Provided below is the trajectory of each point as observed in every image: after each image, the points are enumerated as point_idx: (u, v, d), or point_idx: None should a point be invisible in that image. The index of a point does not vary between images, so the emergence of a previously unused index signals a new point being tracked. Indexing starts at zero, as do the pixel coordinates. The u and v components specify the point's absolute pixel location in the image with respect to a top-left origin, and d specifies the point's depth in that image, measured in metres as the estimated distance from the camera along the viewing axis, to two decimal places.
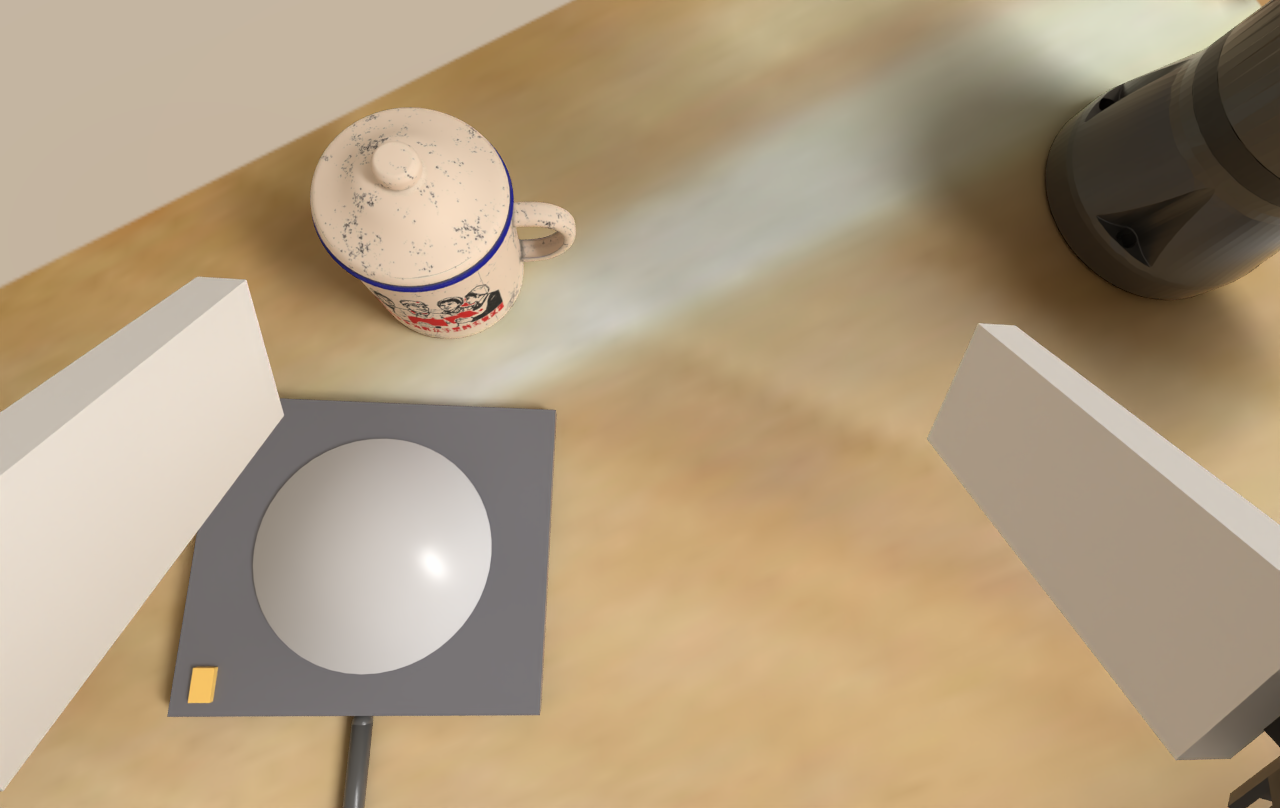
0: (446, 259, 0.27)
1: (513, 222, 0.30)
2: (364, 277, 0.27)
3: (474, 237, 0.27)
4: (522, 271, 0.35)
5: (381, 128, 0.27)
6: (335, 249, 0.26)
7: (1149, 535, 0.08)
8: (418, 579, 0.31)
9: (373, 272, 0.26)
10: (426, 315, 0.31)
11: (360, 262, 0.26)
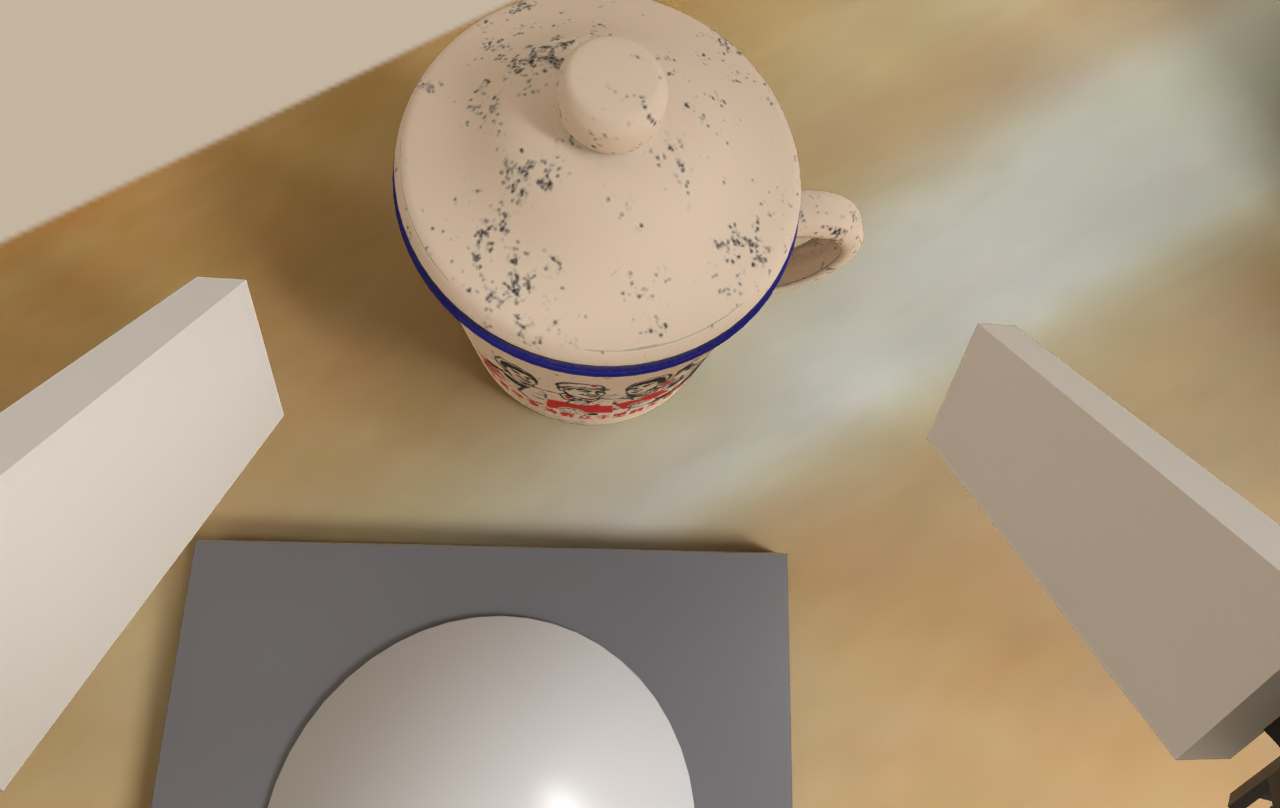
0: (695, 309, 0.12)
1: None
2: (513, 346, 0.12)
3: (750, 261, 0.12)
4: None
5: (548, 26, 0.13)
6: (454, 286, 0.12)
7: (1149, 535, 0.08)
8: None
9: (539, 338, 0.12)
10: (589, 401, 0.17)
11: (511, 316, 0.12)
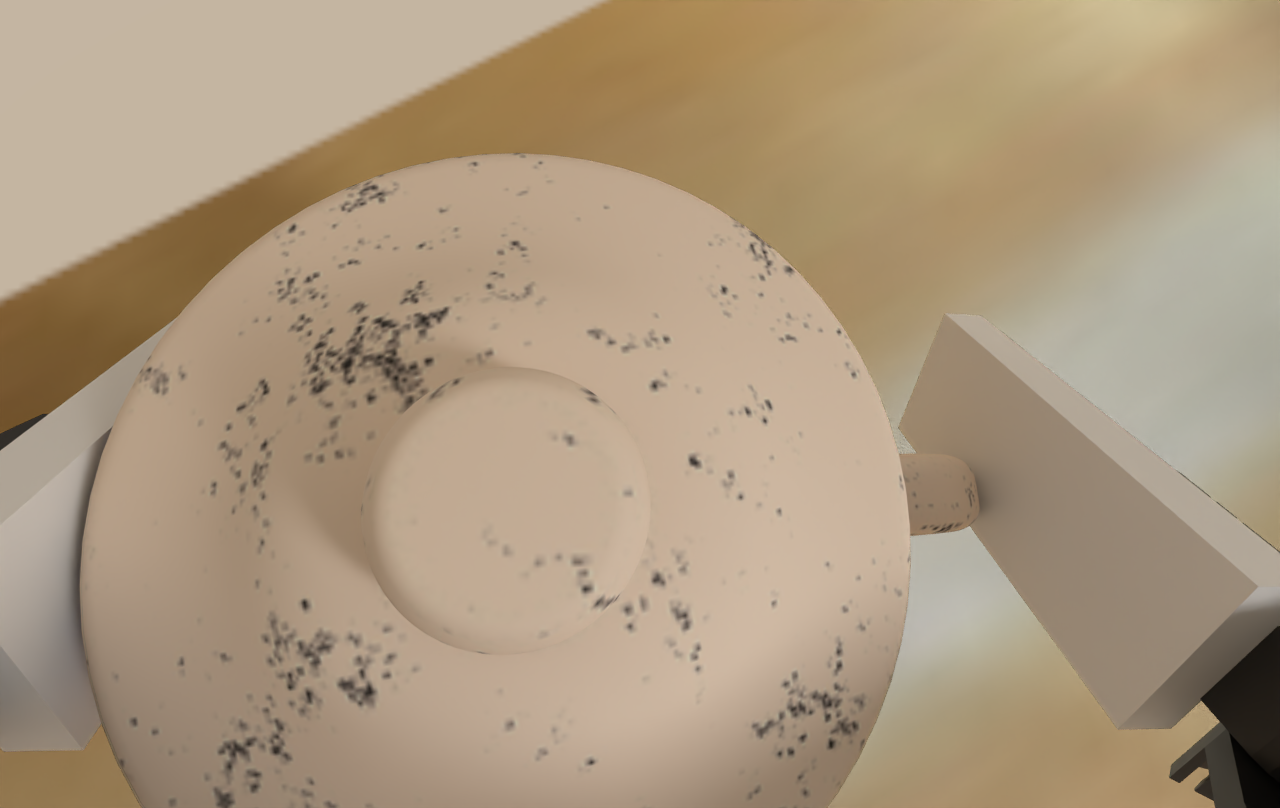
0: None
1: None
2: None
3: (825, 739, 0.06)
4: None
5: (409, 247, 0.06)
6: None
7: (1095, 514, 0.08)
8: None
9: None
10: None
11: None
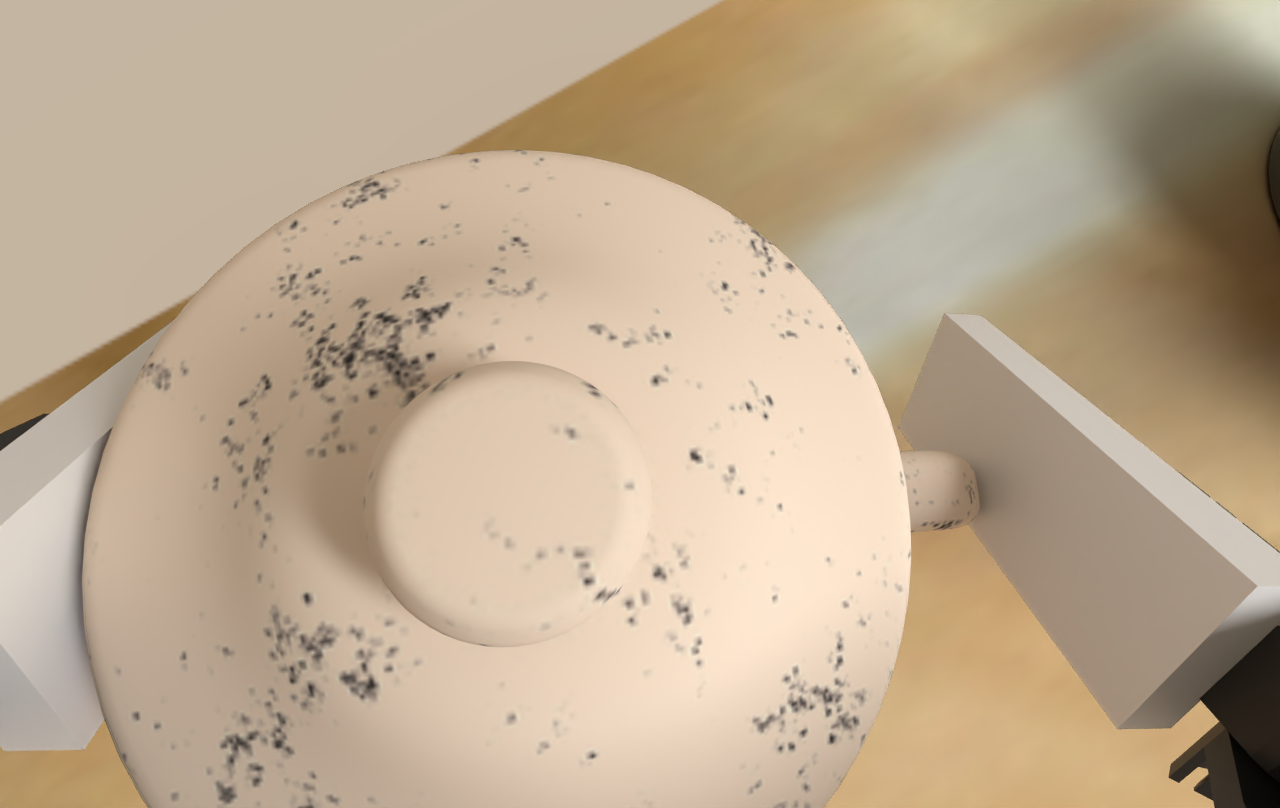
0: None
1: None
2: None
3: (826, 734, 0.06)
4: None
5: (411, 243, 0.06)
6: None
7: (1094, 514, 0.08)
8: None
9: None
10: None
11: None
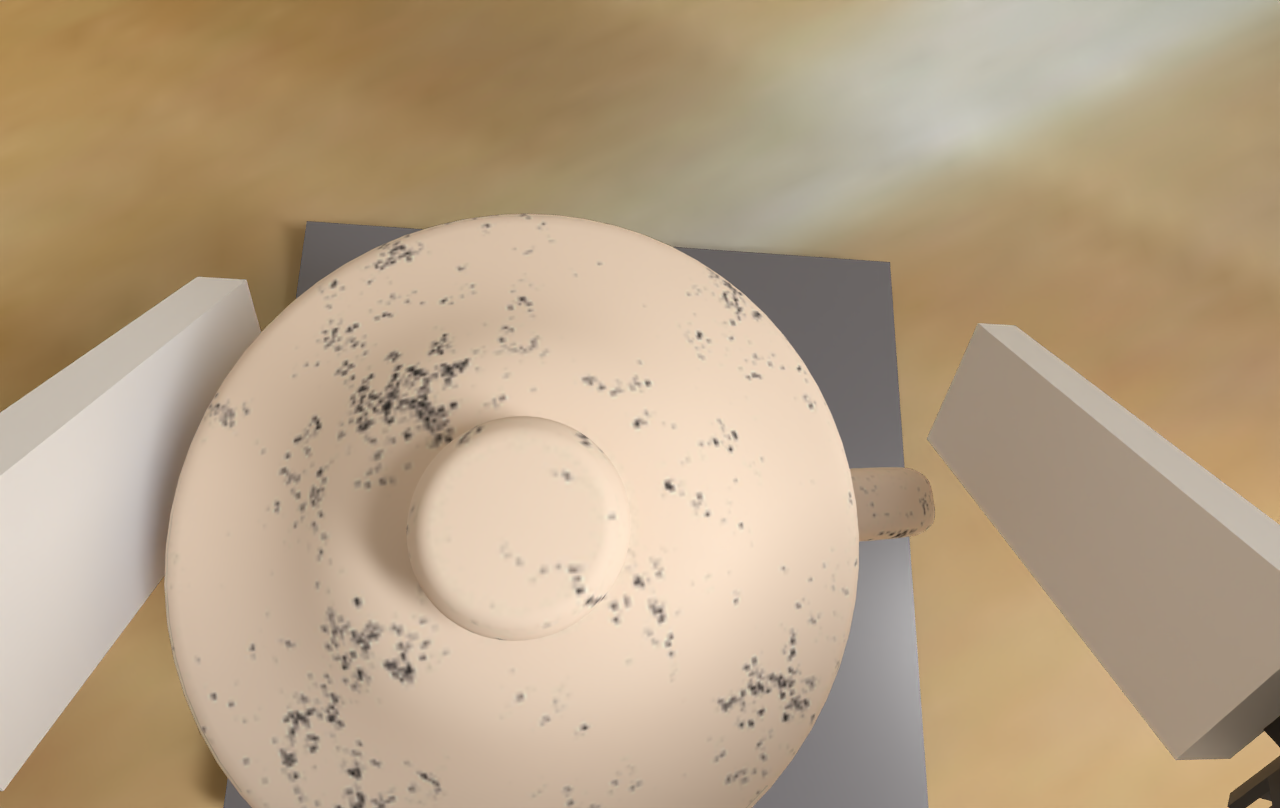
0: None
1: None
2: None
3: (780, 713, 0.07)
4: None
5: (434, 302, 0.07)
6: (252, 803, 0.07)
7: (1148, 535, 0.08)
8: None
9: None
10: None
11: None
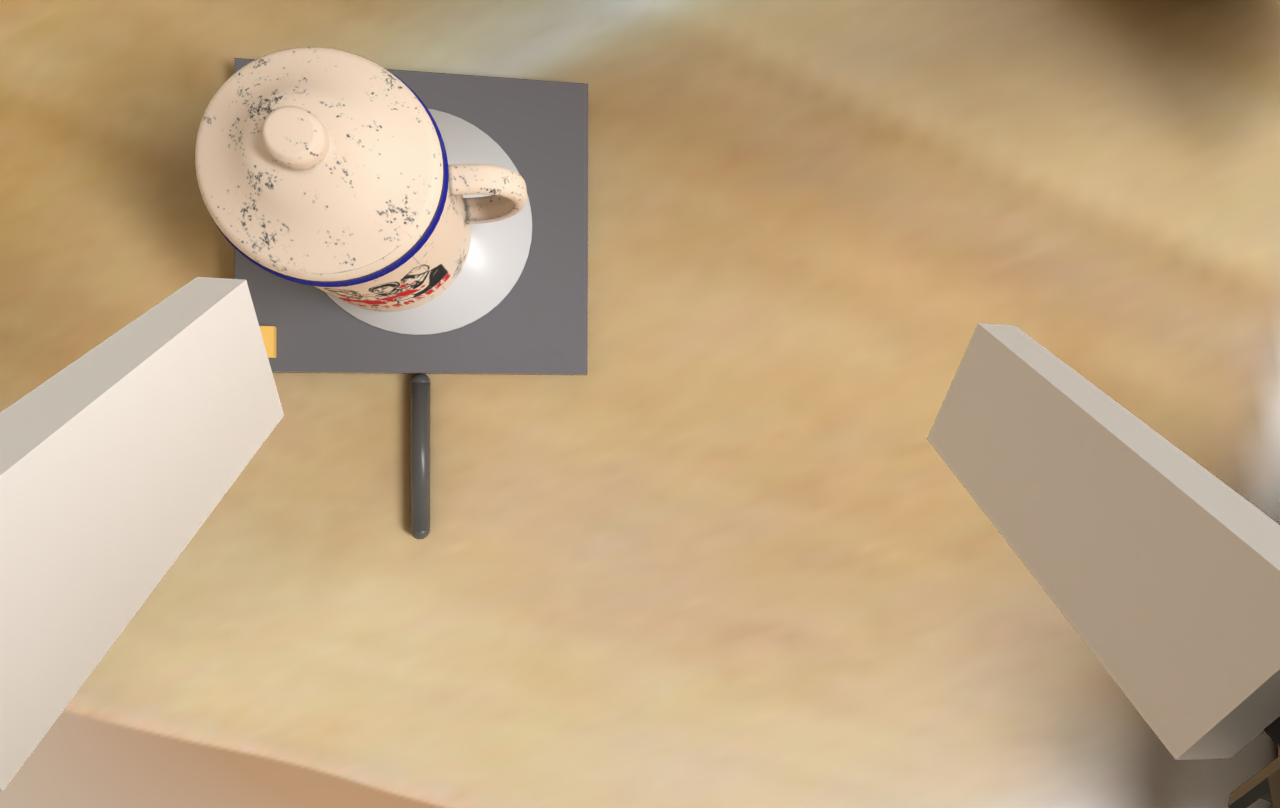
0: (370, 249, 0.22)
1: (451, 191, 0.25)
2: (275, 271, 0.23)
3: (403, 221, 0.23)
4: (469, 231, 0.31)
5: (274, 79, 0.22)
6: (234, 239, 0.22)
7: (1149, 535, 0.08)
8: None
9: (284, 267, 0.22)
10: (359, 298, 0.27)
11: (267, 256, 0.22)
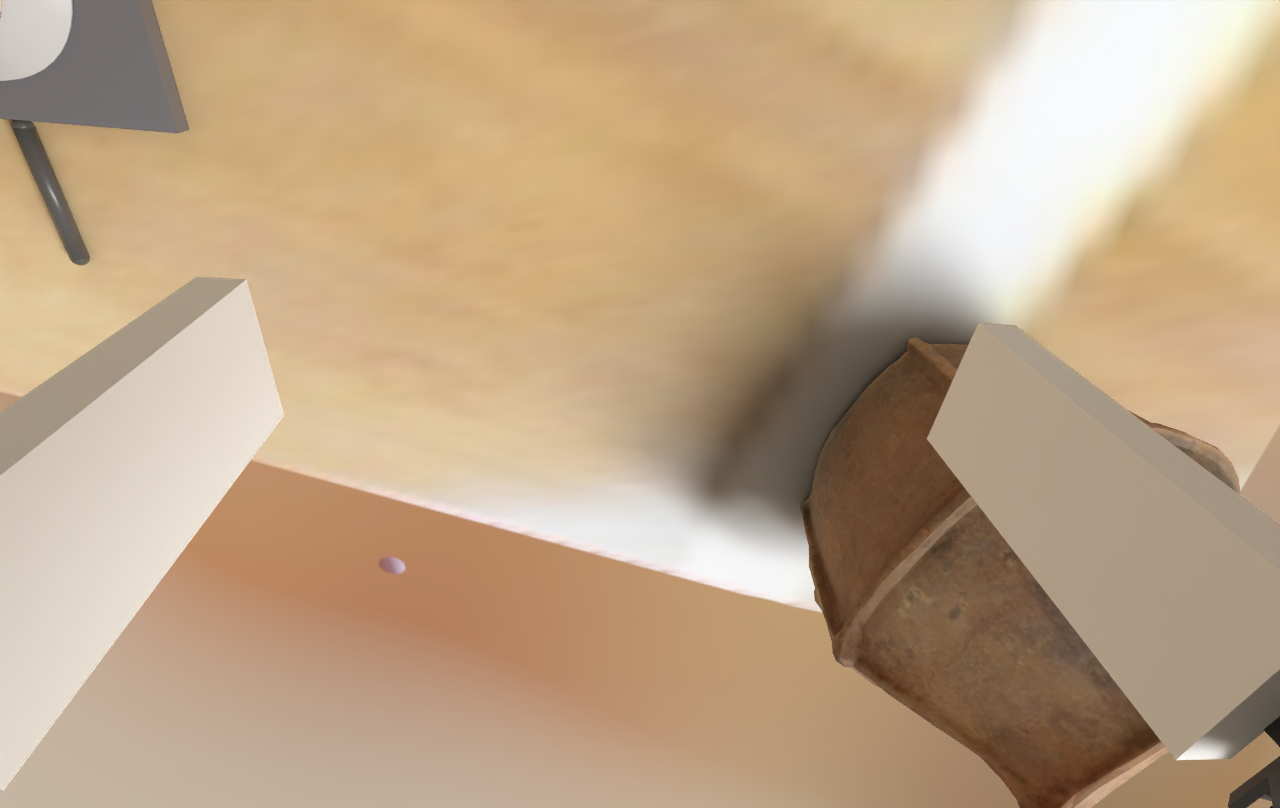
0: None
1: None
2: None
3: None
4: None
5: None
6: None
7: (1149, 535, 0.08)
8: None
9: None
10: None
11: None
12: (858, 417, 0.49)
